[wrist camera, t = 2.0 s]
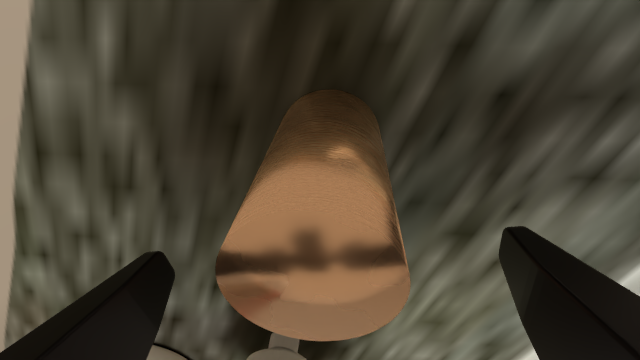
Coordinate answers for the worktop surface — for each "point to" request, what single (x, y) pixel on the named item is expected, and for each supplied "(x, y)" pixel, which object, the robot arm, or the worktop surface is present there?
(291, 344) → the showerhead
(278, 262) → the copper brown cylinder
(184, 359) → the fruit juice
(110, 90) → the worktop surface
